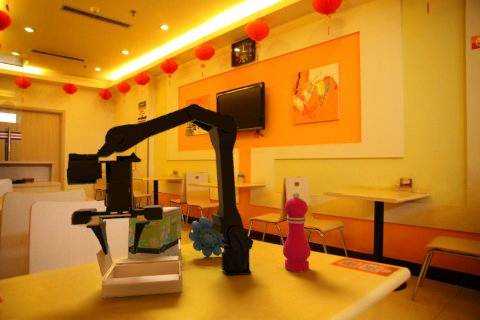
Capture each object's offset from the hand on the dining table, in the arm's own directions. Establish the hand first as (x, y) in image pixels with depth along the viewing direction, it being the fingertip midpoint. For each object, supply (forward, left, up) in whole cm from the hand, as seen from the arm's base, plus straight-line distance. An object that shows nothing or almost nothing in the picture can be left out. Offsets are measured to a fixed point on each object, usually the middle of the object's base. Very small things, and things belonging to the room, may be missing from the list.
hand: (120, 253), depth 71 cm
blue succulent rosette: (-21, -20, -8) cm, 30 cm away
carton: (-5, 0, -8) cm, 9 cm away
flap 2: (-13, 0, -1) cm, 13 cm away
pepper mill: (-43, -5, -8) cm, 44 cm away
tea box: (-6, -22, -8) cm, 24 cm away
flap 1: (+3, 0, -1) cm, 3 cm away
